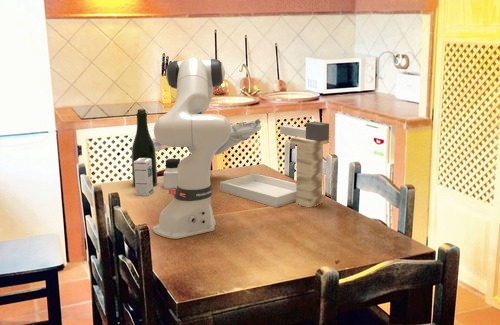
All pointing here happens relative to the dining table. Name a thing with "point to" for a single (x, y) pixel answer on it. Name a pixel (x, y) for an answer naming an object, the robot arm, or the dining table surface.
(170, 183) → the medicine bottle
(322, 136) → the grey mallet
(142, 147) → the wine bottle
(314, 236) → the dining table surface
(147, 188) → the syrup box
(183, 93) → the robot arm
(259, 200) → the tray
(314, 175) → the ribbed beige tower
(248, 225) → the dining table surface
